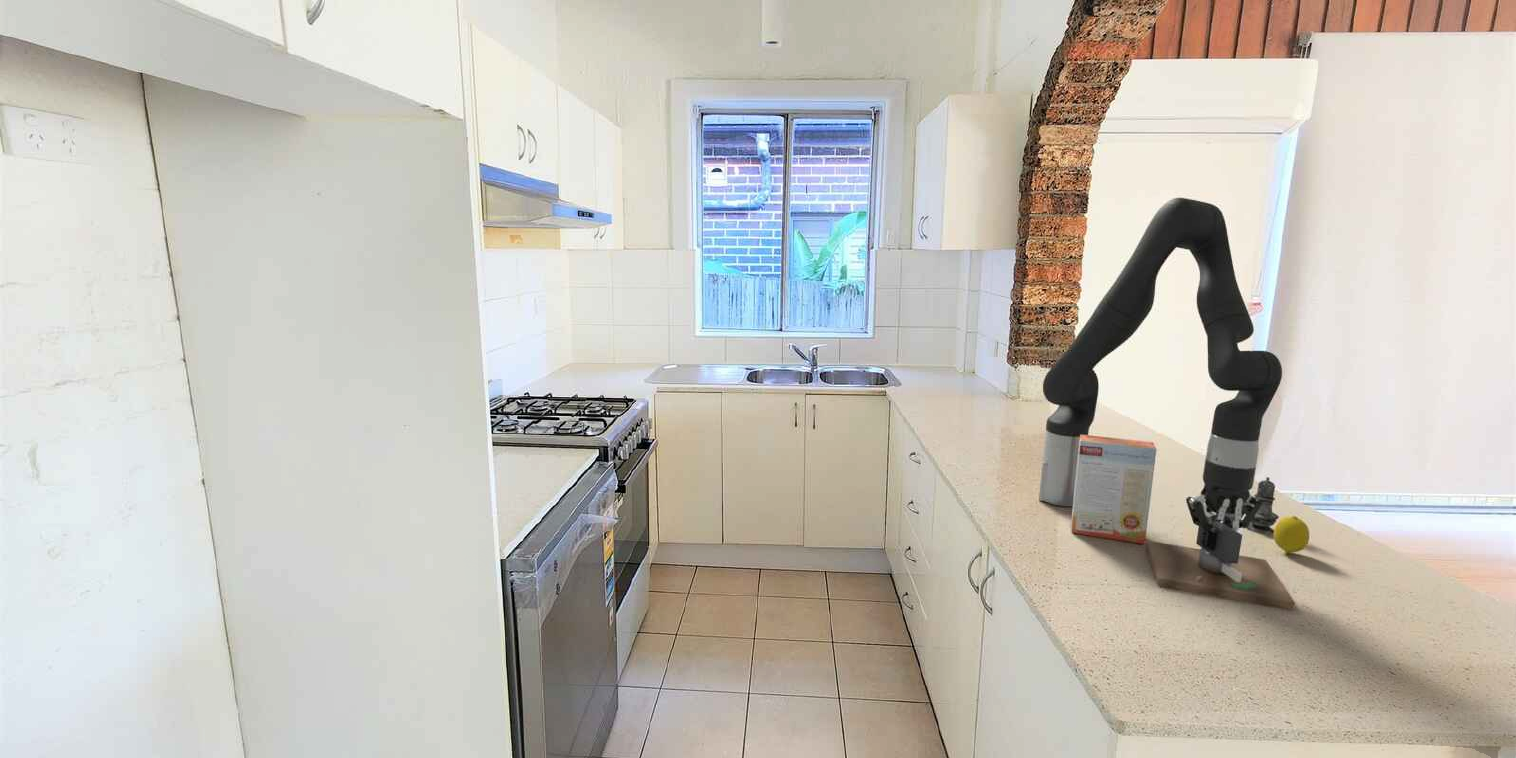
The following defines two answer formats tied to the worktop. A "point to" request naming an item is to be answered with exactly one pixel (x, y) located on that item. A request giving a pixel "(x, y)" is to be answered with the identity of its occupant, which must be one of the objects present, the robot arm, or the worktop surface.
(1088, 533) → the cracker box
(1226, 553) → the dial pointer knob
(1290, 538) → the lemon
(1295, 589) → the worktop surface
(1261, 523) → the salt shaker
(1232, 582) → the dial plate
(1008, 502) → the worktop surface
